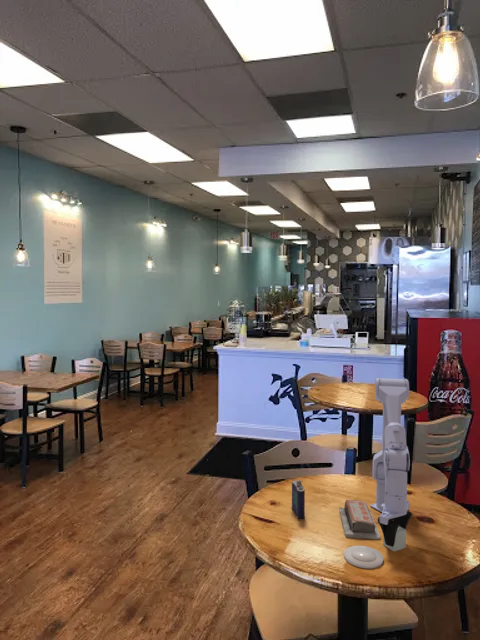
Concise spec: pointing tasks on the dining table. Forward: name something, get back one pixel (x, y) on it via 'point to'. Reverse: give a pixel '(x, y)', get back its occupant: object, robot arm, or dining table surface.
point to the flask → (298, 499)
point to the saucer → (363, 557)
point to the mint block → (398, 540)
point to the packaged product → (358, 520)
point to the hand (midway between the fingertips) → (394, 541)
